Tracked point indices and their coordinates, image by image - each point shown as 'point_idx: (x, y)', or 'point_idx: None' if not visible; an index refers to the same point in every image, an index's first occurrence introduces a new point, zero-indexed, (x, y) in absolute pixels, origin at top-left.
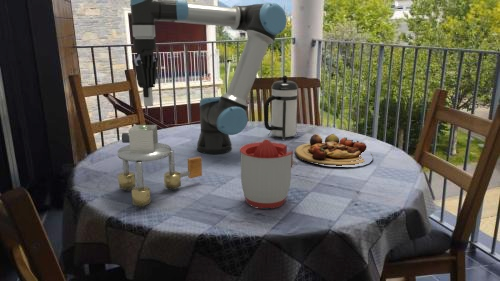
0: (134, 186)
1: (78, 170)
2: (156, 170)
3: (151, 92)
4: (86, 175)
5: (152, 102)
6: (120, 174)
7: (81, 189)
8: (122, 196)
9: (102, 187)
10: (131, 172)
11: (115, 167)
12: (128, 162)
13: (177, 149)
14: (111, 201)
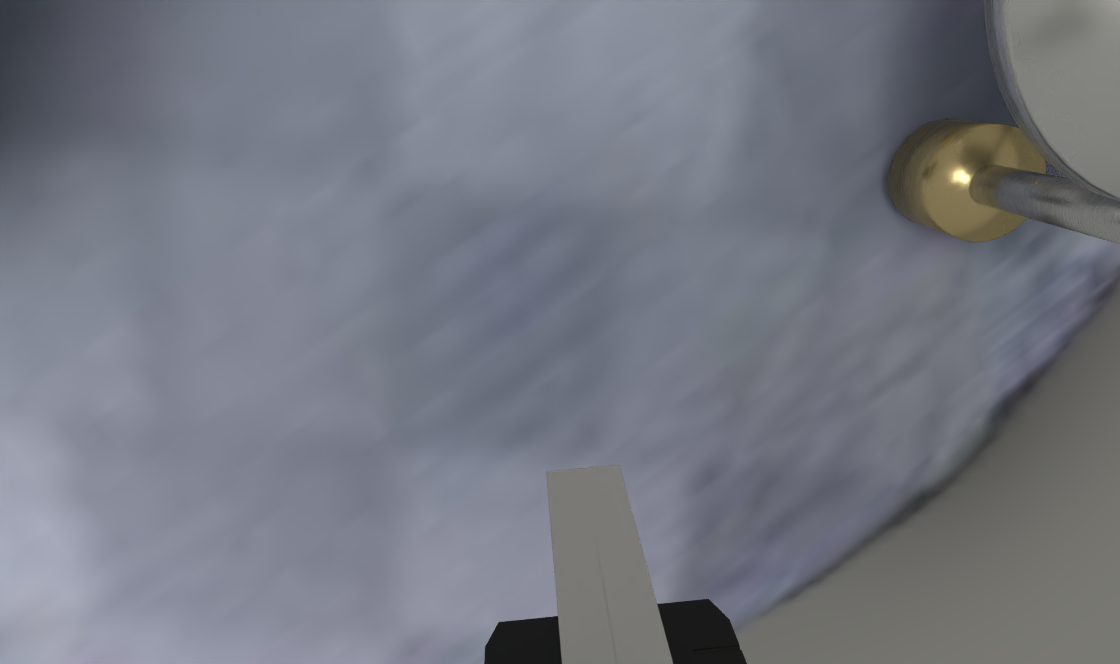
0: (946, 119)
1: None
2: (543, 219)
3: (594, 649)
4: (773, 542)
5: (561, 504)
6: (996, 225)
7: (966, 420)
8: None
9: (915, 339)
10: (941, 180)
11: None
12: (1043, 181)
13: (47, 358)
14: None
